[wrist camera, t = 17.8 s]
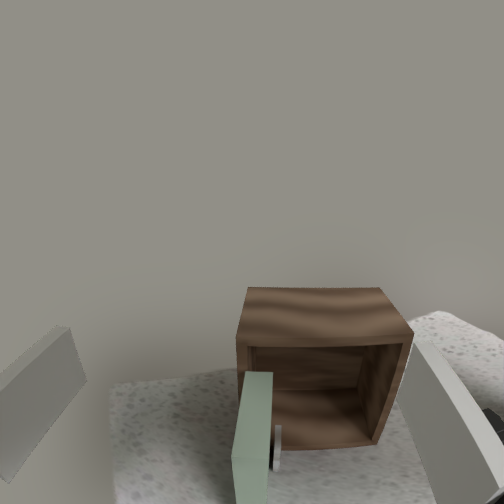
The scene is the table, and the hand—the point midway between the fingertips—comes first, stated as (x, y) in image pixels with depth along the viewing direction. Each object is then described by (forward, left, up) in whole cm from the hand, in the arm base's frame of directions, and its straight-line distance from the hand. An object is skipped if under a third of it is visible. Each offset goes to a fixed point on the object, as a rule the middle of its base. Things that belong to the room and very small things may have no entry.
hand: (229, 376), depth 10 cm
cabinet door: (-11, -6, -30) cm, 32 cm away
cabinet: (-24, -6, -30) cm, 39 cm away
